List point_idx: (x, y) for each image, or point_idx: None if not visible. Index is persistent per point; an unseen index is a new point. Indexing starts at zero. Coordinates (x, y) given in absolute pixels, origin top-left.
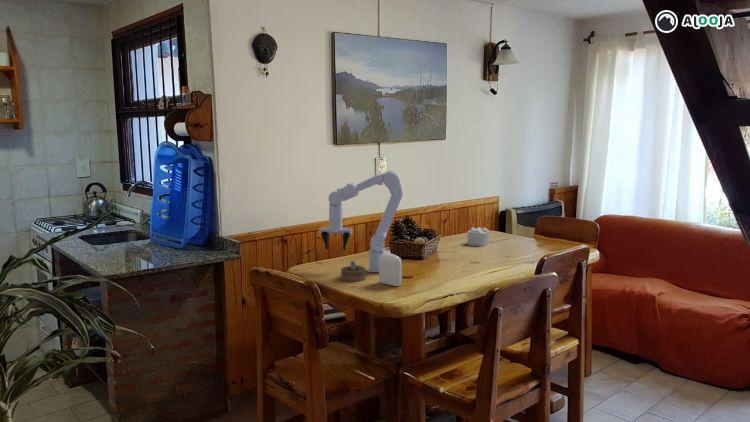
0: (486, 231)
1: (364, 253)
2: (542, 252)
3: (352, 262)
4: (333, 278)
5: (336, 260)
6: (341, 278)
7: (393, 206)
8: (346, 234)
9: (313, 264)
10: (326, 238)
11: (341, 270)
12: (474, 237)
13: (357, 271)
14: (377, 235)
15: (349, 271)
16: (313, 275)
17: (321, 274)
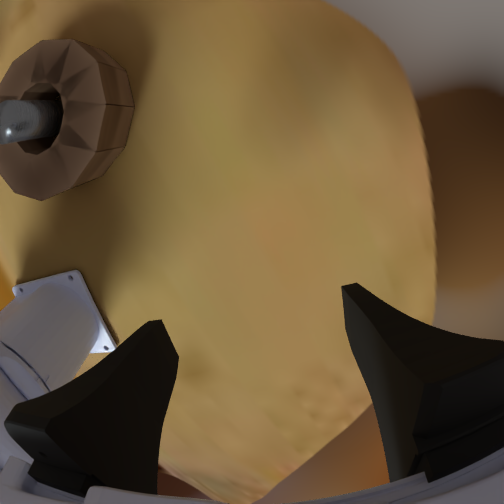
0: None
1: (275, 483)
2: None
3: (3, 102)
4: (170, 48)
5: (343, 404)
6: (121, 67)
7: None
8: (36, 449)
9: (432, 305)
10: (395, 355)
11: (95, 57)
12: None
13: (3, 83)
14: None
15: (34, 51)
16: (333, 59)
17: (296, 100)
